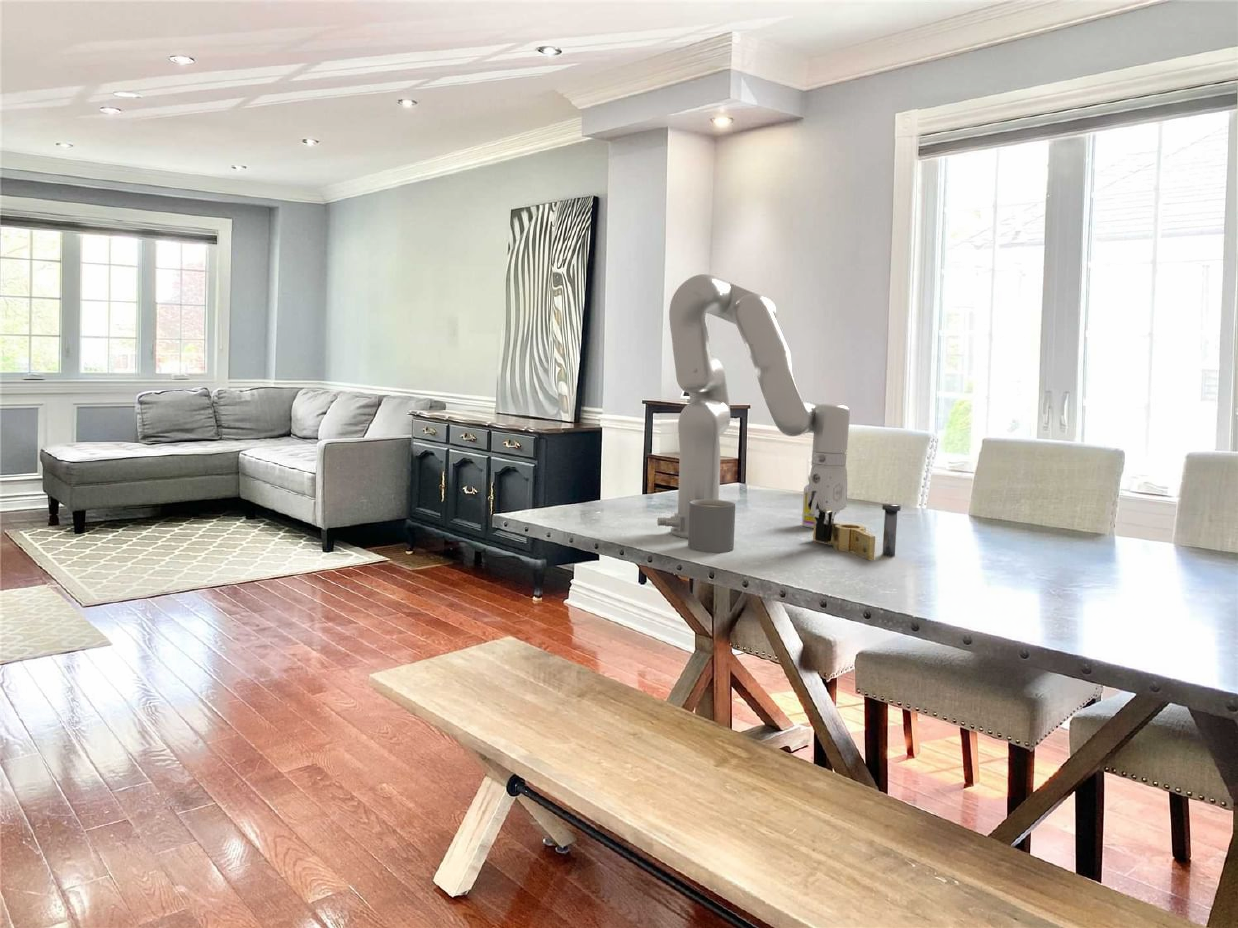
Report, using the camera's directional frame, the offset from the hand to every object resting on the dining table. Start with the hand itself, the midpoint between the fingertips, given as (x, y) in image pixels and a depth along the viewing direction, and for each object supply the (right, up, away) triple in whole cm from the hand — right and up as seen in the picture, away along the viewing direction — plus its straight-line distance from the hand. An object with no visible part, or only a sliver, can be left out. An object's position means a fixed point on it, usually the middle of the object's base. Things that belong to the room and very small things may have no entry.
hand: (823, 540), depth 209 cm
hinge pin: (+12, -3, -8) cm, 15 cm away
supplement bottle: (+4, +1, +25) cm, 25 cm away
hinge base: (+6, -2, -6) cm, 9 cm away
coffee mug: (-25, -1, -4) cm, 25 cm away
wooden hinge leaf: (+1, -1, +4) cm, 4 cm away
